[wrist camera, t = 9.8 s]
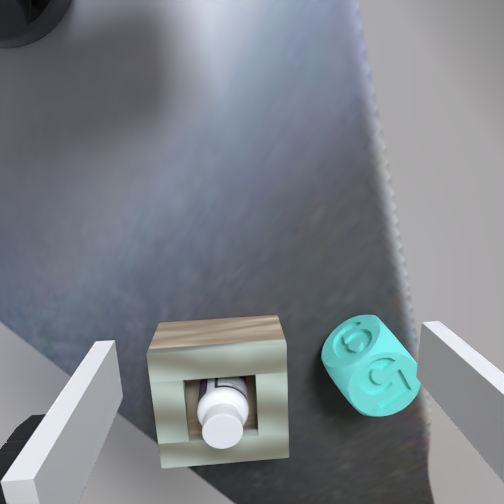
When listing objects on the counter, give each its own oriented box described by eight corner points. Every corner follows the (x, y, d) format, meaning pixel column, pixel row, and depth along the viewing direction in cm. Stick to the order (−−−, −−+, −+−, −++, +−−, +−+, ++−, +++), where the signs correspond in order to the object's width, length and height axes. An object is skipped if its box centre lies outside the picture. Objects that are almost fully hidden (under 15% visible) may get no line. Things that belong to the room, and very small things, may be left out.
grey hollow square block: (159, 322, 43) (146, 354, 36) (277, 314, 44) (286, 344, 37) (171, 423, 47) (161, 468, 40) (280, 414, 47) (288, 457, 41)
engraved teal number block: (351, 385, 47) (375, 431, 39) (313, 343, 45) (331, 382, 37) (401, 348, 46) (436, 387, 38) (365, 303, 44) (394, 335, 36)
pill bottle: (216, 400, 46) (213, 464, 36) (192, 368, 44) (183, 425, 35) (254, 379, 45) (260, 438, 36) (231, 346, 44) (231, 398, 34)
